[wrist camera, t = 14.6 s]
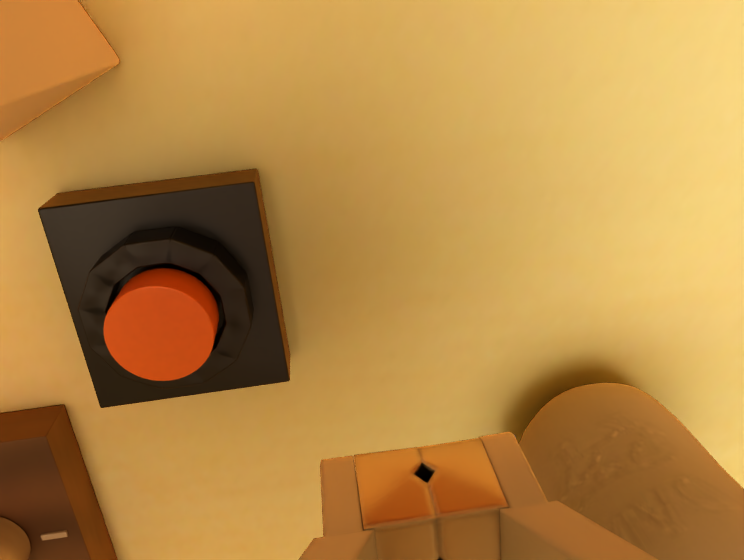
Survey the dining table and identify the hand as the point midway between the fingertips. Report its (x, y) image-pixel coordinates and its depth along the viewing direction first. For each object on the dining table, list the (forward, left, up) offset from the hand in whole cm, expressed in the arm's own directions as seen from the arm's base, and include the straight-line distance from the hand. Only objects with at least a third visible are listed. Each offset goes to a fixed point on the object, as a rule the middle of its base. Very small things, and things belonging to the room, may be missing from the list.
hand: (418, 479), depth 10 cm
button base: (-6, +9, -25) cm, 27 cm away
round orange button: (-6, +9, -21) cm, 24 cm away
